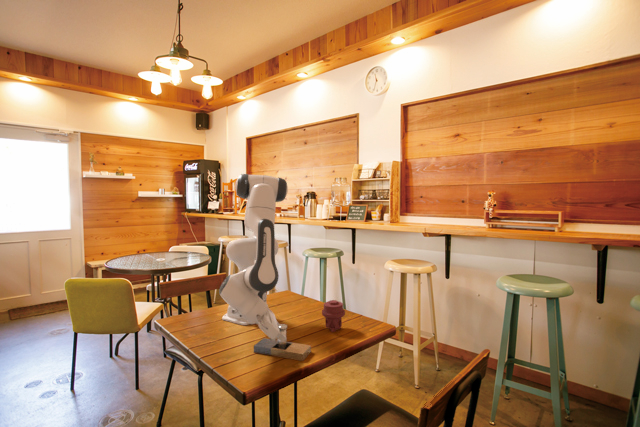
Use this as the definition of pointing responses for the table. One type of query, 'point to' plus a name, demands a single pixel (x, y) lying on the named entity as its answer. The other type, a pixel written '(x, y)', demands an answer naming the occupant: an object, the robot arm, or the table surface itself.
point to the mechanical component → (333, 314)
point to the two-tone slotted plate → (291, 351)
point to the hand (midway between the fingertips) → (283, 335)
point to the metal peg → (283, 331)
